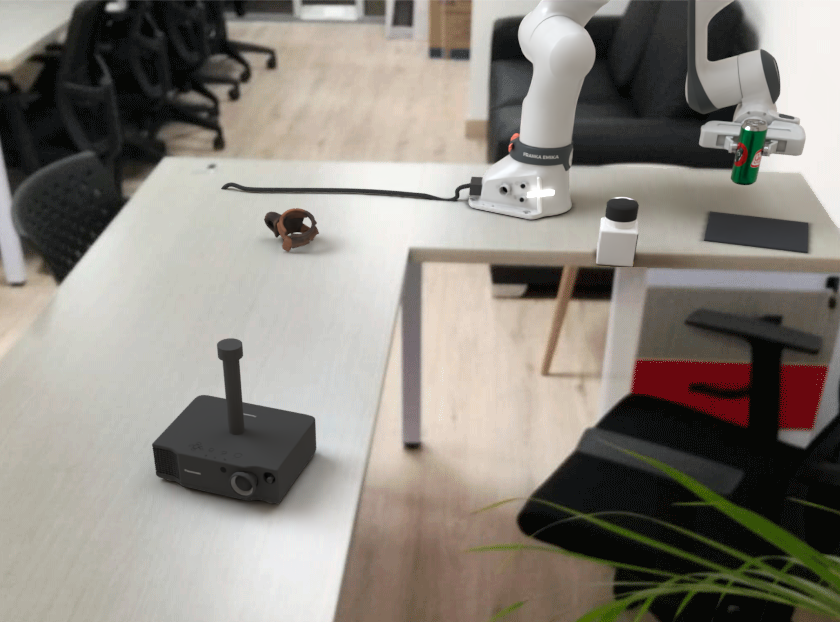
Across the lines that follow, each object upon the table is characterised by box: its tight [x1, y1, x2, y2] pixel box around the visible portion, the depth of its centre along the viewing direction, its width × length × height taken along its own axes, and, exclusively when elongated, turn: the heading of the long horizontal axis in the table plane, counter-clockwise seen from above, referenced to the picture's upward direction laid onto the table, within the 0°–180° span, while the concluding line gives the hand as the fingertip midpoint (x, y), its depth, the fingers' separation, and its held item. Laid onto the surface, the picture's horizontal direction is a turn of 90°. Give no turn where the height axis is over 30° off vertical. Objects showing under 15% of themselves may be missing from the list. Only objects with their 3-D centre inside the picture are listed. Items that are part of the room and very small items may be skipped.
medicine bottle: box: [595, 196, 640, 268], centre depth 210 cm, size 7×7×12 cm
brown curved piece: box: [263, 207, 320, 253], centre depth 220 cm, size 12×10×8 cm
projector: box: [151, 337, 317, 505], centre depth 150 cm, size 19×17×20 cm
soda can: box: [730, 119, 768, 186], centre depth 215 cm, size 5×5×12 cm
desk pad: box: [703, 211, 809, 254], centre depth 224 cm, size 20×16×1 cm
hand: (749, 150), depth 214 cm, fingers closed on soda can, 5 cm apart
